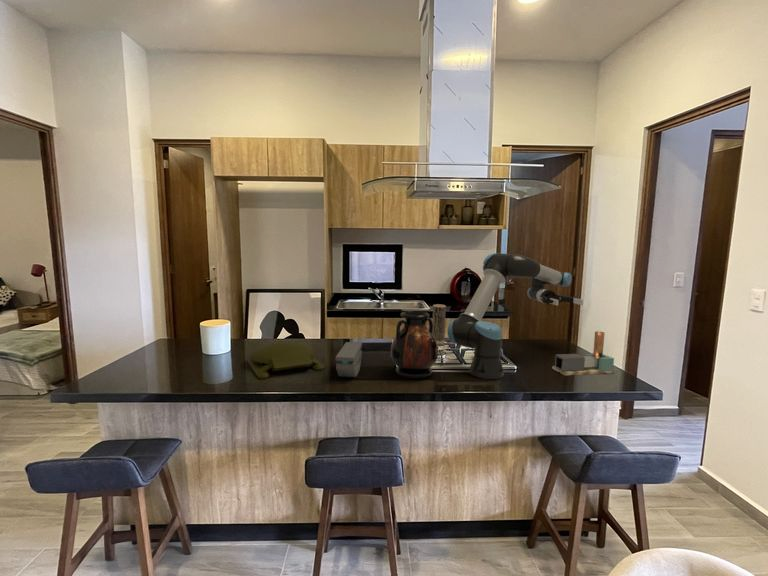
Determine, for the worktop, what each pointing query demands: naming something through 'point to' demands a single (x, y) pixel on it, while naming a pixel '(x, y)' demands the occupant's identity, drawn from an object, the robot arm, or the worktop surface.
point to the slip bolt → (595, 351)
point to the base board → (586, 371)
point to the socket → (605, 363)
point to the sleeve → (569, 362)
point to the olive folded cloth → (282, 358)
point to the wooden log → (439, 323)
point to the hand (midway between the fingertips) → (570, 302)
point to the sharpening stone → (349, 360)
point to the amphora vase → (414, 346)
